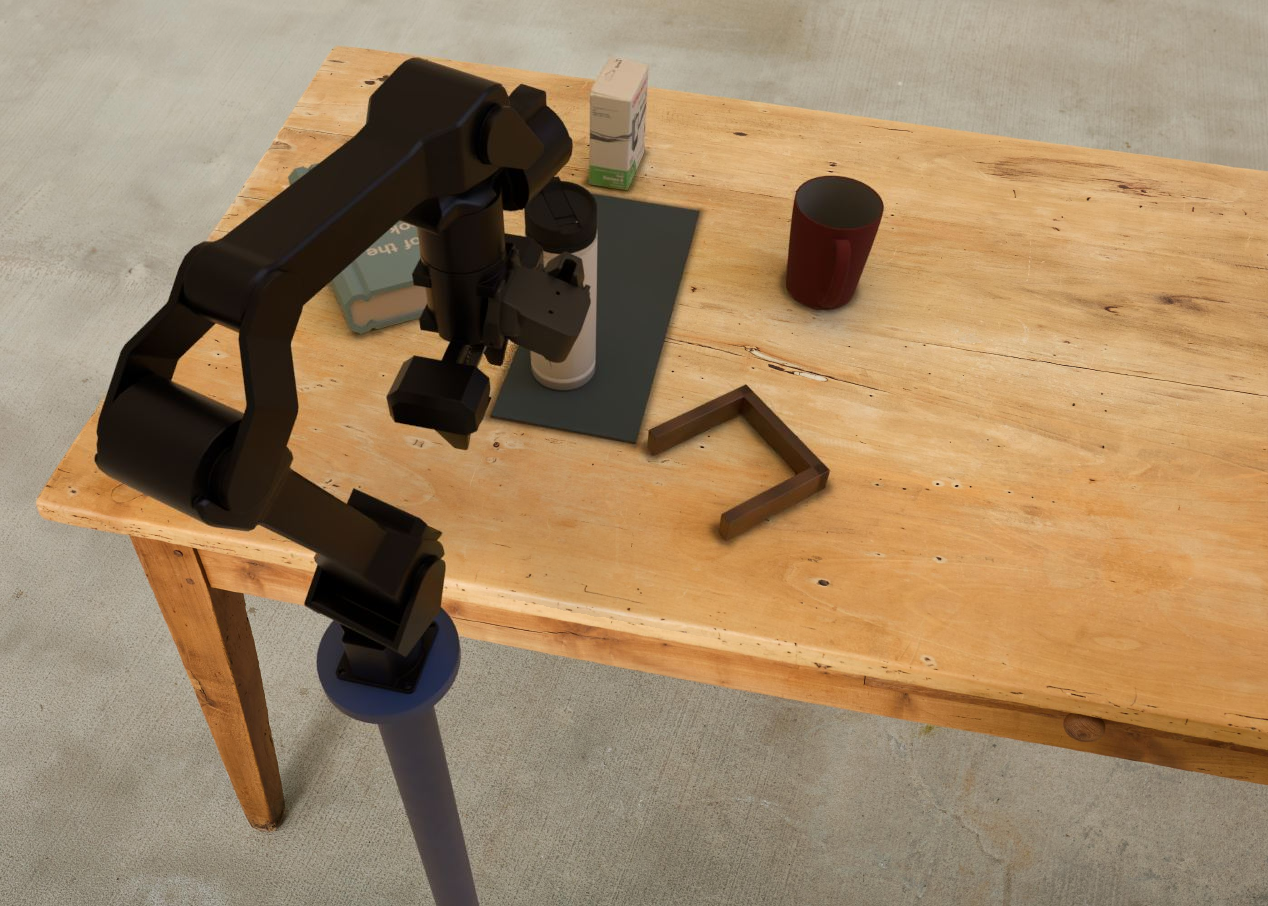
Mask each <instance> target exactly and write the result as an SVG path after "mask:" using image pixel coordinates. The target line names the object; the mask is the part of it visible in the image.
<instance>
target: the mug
mask: <svg viewBox="0 0 1268 906" xmlns="http://www.w3.org/2000/svg"><path fill="white" fill-rule="evenodd" d="M793 198H794V199H793V205H792V212H791V220H790V228H789V229H790V230H789V240H788V249H787V250H788V251H787V262H786V276H785V287H786V290H787V292H788V293H789V295H790V297H792V298H793V299H794V300H795V301H797V302H798V303H800V304H802V305H804V306H805V307H806V306H807V307H809V308H812V309H818V310H833V309H838V308H841V307H844V306H845V305H847V304H848V303H849V302H850V301H852V299H853V297H854V295H855V293H856V290H857V288H858V286H859V282H860V280H861V277H862V274H863V273H864V269H865V266H866V264H867V262H868V259H869V256H870V255H871V254H870V253H871V250H872V247H873V246H874V242H875V240H876V237H877V235H878V231H879V229H880V225H881V222H882V218H883V215H884V210H885V205H884V200H883V199H882V197H881V195H880V194H879V193H878V192H877V191H876V190H875V189H874V188H872V186H869V185H868V184H866V183H864V182H863V181H860V180H858V179H855V178H851V177H847V176H843V175H822V176H821V175H820V176H815V177H813V178H810V179H808V180H805V181H804V182H803V183H801V184H800V185H799V186H798V187H797V189H796V191H795V193H794V197H793Z"/></svg>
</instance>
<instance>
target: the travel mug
mask: <svg viewBox="0 0 1268 906" xmlns="http://www.w3.org/2000/svg"><path fill="white" fill-rule="evenodd" d="M592 194H593V193H592V192H590V191H589V190H588V189H586V187H584V186H582V185H580V184H578V183H575V182H572V181H568V180H567V181H566V180H561V178H560V175H557V176H554V177H553V178H552V180H551V181H550V182H549V183H548V184H547V185H546V186H545V187H544V188H543V189H542V190H541V191H540V192H539V193H538V194H537V195H536V196H535V197H534V198H533V200H532V201H531V202H530V203H529V204H528V205H527V206H526V207H525V208H524V209H523V211H524V213H523V215H524V236H525V237H531V238H532V239H534V240H535V241H536V242H537V243H538V244H539V245H540V246H541V247H542V248H543V254H544V267H546V265H547V263H548V261H550V260H551V259H553V258H555V257H556V256H558V255H560V254H561V253H563V252H568V253H571V254H573V255H575V256H577V257H579V258H581V259H582V262H583V268H584V275H585V279H584V282H583V285H584V287H585V285H586V284H587V285H589V286H591V287H590V290H589V292H590V299H591V304H590V307H589V310H588V313H587V316H586V318H585V321H584V324H583V327H582V330H581V332H580V334H579V336H578V338H577V340H576V341H575V343H574V345H573V347H572V349H571V351H570V353H569V355H568V357H567V358H566V360H565V361H564V362H561V363H554V362H551V361H548V360H546V359H545V358H544V356H542V355H540V354H537V353H535V352H533V351H531V370H532V373H533V376H534V377H535V379H536V380H537V381H538V382H539V383H541V384H542V385H543V386H546V387H548V388H550V389H554V390H573V389H576V388H579V387H581V386H583V385H585V384H586V383H587V382H588V381H589V380H590V379H591V378H592V377H593V375H594V373H595V357H596V296H597V203H596V200H595V198H594V197H593V195H592Z"/></svg>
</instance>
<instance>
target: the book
mask: <svg viewBox="0 0 1268 906" xmlns="http://www.w3.org/2000/svg"><path fill="white" fill-rule="evenodd" d="M319 163H320V162H317V163H313V164H310V165H309V167H305V166H298V167H294V169H293V170H292V171H291V173H290V174H289V175H288V176H287V178H288V183H289V186H290V185H291V184H293V183H294V182H295V181H297V180H298V179H299V178H301V177H302V176H303V175H304V174H306V173H307V172H308V171H310V170H311V169H312V168H314V167H315V166H316V165H318V164H319ZM420 258H421V255H420V247H419V240H418V233H417V227H415V226H413V225H410V224H407V223H404V222H402V221H398V222H397V223H396V224H395V225H394V226H393V227H392V228H391V229H389V230H388V231H387V232H386V233H385V234H384V235H383V236H382V237H380V238H379V239H378V240H377V241H376V242H375V243H374V244H372V245H371V246H370V247H369V248H368V249H367V250H366V251H365V252H363V253H362V254H361V255H360V256H359V257H358V258H357V259H356V260H354V261H353V262H352V263H351V264H350V265H349V266H348V267H346V268H345V269H344V270H343V271H342V272H341V273H340V274H339V275H337V276H336V277H335V278H334V279H333V280H332V281H331V282H330V283H329V286H330V288H331V289H332V290H331V291H332V292H333V294H334V297H335V299H336V302H337V304H338V306H339V308H340V311H341V313H342V315H343V318H344V320H345V322H346V324H347V327H348V329H349V331H351V332H353V333H354V332H355V333H357V334H360V335H362V334H366V333H370V332H371V331H372V329H376V330H380V329H385V328H388V327H391V326H396V325H399V324H402V323H407V322H410V321H413V320H417V319H419V318H420V316H421V314H422V312H423V310H424V309H425V307H426V305H427V296H426V290H425V287H420V286H414V284H413V278H412V273H413V271H414V269H415V267H416V265H417V263H418V261H419V260H420Z"/></svg>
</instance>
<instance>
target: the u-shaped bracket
mask: <svg viewBox="0 0 1268 906" xmlns="http://www.w3.org/2000/svg"><path fill="white" fill-rule="evenodd" d="M739 415H741V416H742V417H743V418H744V419H745V421H747V422H748V424H749V425H750V426H751V427H752V428H753V429H754V430H755V431H756V432H757V433H758V434H759V435H760V436H761V437H762V438H763V439H764V440H765V441H766V442H767V443H768V444H769V446H770V447H771V448H772V449H773V450H774V451H775V452H776V454H778V455H779V456H780V457H781V459H783V460H784V461H785V462H786V464H787V465H788V466H789V467H790V468H791V469H792V470H793V471H794V472H795V473H796V475H794V476H791V477H789V478H787V479H785V480H783V481H782V482H780V483H778V484H776V485H774V486H773V487H770V488H768V489H766V490H765V491H763V492H761V493H759V494H757V495H755V496H753V497H751V498H749V499H748V500H745V501H744V502H742V503H740V504H738V505H735V506H733V507H732V508H729V509H727V510H726V511H724V512H722V513H721V514H720V519H719V524H718V525H719V526H718V532H719V533H720V534H721V536H722V537H723V538H724V539H725V540H726V541H728V540H729V539H732V538H733V537H735V536H737V535H739V534H741V533H743V532H744V531H746V530H749V529H750V528H752V527H754V526H756V525H758V524H759V523H762V522H763V521H765V520H767V519H769V518H771V517H772V516H774V515H777V514H778V513H780V512H782V511H784V510H786V509H787V508H788V509H789V507H792V506H793V505H795V504H797V503H798V502H801V501H803V500H804V499H807V498H808V497H811V496H812V495H814V494H816V493H817V492H819V491H821V490H823V489H825V488H826V487H827V483H828V479H829V477H830V472H831V469H830V468H828V466H827V465H826V464H825V463H824V462H823V461H822V460H821V459H820V458H819V457H818V456H817V455H816V454H815V453H814V452H813V451H812V450H811V449H810V448H809V447H808V445H806V444H805V443H804V442H803V440H801V439H800V437H798V435H797V434H796V433H795V432H794V431H793V430H792V429H791V428H790V427H789V426H788V425H787V424H785V422H784V421H783V420H782V419H781V418H780V417H779V416H778V415H777V414H776V413H775V412H774V411H773V410H772V409H771V408H770V407H769V405H767V404H766V403H765V401H763V399H761V398H760V397H759V396H758V394H757V393H755V391H753V390H752V388H751V387H750V386H749V385H748V384H743V385H740V386H738V387H737V388H735V389H732V390H731V391H729V392H727V393H724V394H722V395H720V396H717V397H715V398H714V399H711V400H709V401H708V402H705V403H703V404H700V405H699V406H696V407H694V408H692V409H690V410H687V411H685V412H684V413H682V414H679V415H677V416H675V417H672V418H671V419H668V420H667V421H665V422H662V423H660V424H658V425H656V426H653V427H651V428H649V429H648V430H647V431H648V432H647V446H646V447H647V449H648V450H649V451H650V452H651V454H652V455H653V456H656V455H658V454H660V453H662V452H664V451H666V450H668V449H671V448H672V447H675V446H677V445H679V444H682V443H684V442H685V441H687V440H689V439H692V438H694V437H696V436H697V435H699V434H701V433H704V432H706V431H708V430H711V429H713V428H714V427H716V426H718V425H721V424H723V423H725V422H727V421H729V420H731V419H733V418H735V417H737V416H739Z"/></svg>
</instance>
